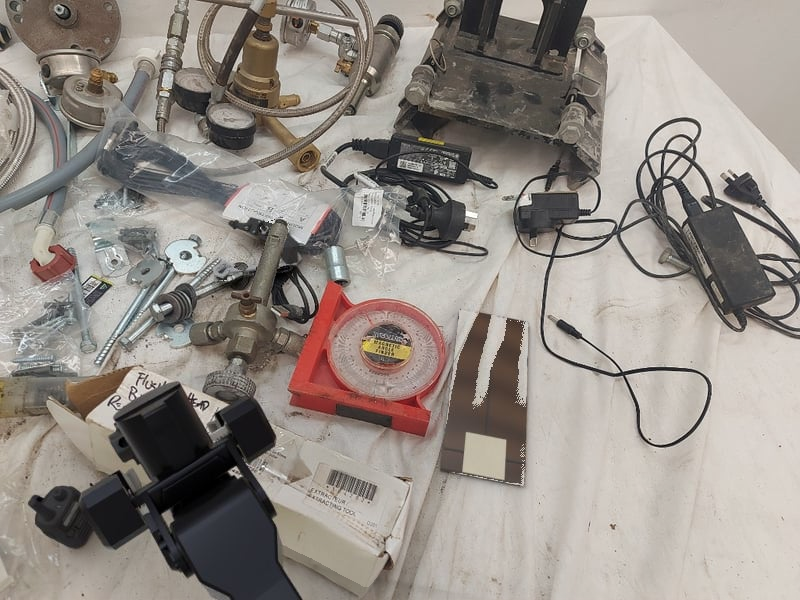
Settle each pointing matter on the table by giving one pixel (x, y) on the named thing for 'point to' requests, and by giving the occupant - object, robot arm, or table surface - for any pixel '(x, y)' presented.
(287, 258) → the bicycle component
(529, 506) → the table surface
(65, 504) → the two-way radio
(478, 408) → the board
